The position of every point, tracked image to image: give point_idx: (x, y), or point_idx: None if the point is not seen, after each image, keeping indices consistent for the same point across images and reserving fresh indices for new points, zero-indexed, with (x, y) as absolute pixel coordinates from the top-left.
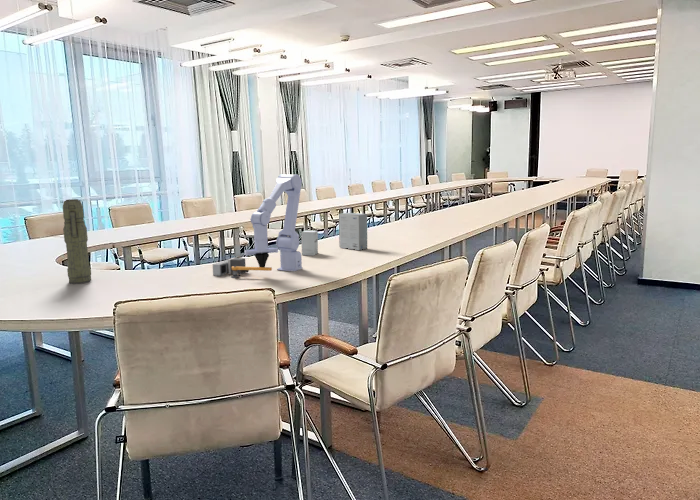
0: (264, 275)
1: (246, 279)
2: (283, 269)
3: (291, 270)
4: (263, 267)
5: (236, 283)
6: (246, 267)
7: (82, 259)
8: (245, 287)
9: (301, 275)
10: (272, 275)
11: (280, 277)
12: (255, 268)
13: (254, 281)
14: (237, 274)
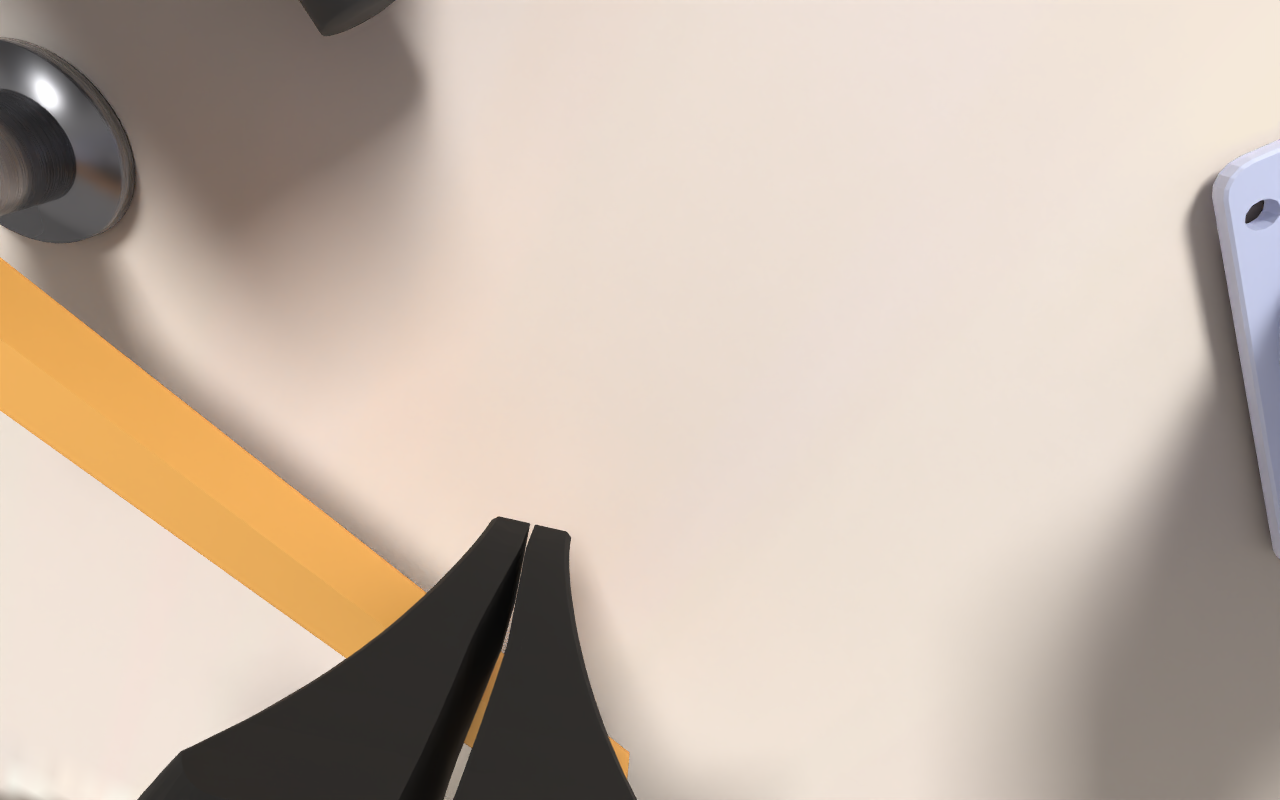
0: (634, 424)
1: None
2: (1264, 343)
3: (1276, 516)
4: (476, 725)
5: (21, 575)
6: (110, 485)
7: None
8: (116, 777)
9: (1076, 780)
10: (750, 517)
11: (755, 690)
12: (322, 619)
13: (305, 640)
14: (39, 196)
